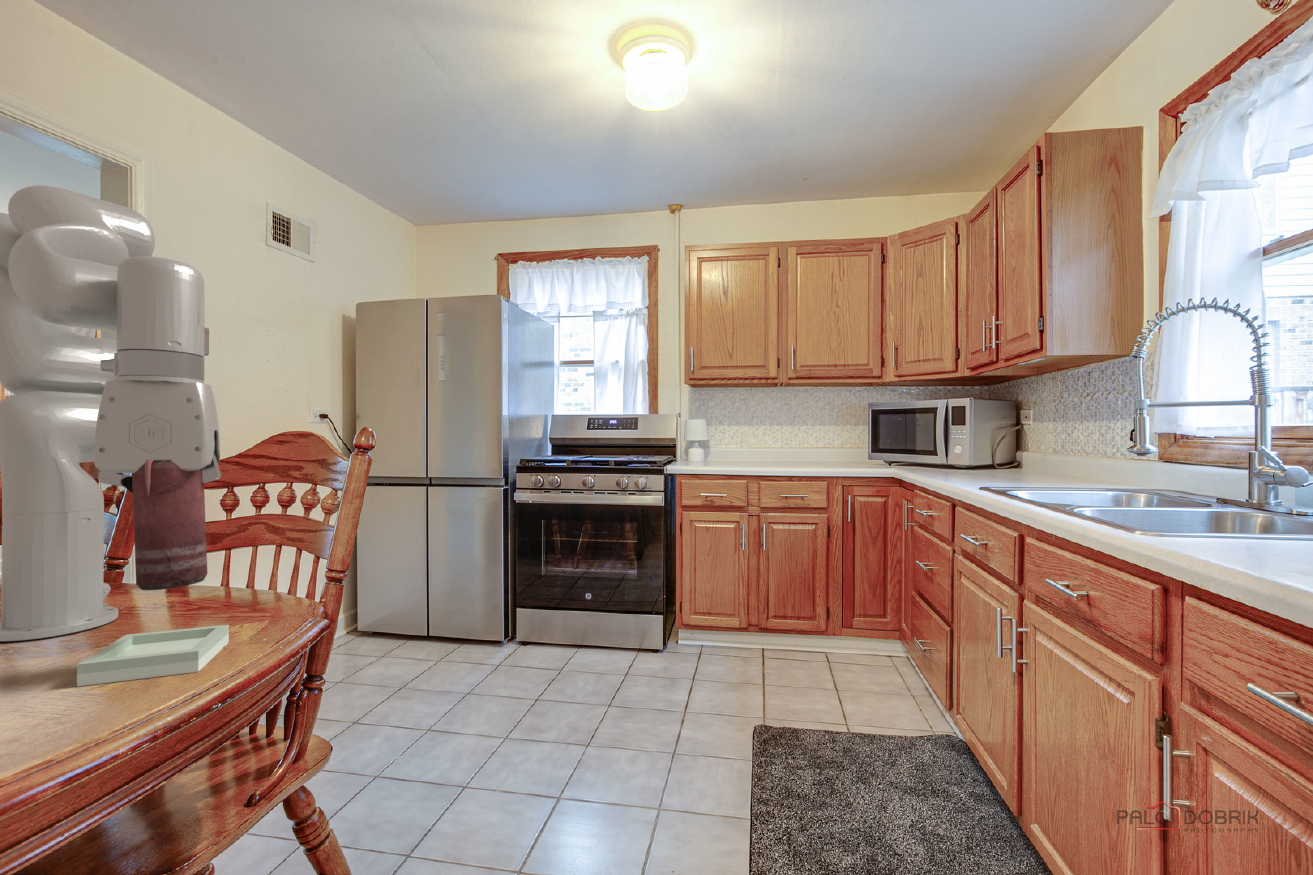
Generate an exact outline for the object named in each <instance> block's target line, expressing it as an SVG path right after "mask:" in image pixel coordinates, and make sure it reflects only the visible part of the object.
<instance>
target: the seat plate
mask: <svg viewBox="0 0 1313 875" xmlns="http://www.w3.org/2000/svg"><path fill="white" fill-rule="evenodd" d="M229 640H230V624H222V625H221V624H220V625H211V626H202V627H201V626H200V627H189V628H181V629H171V630H162V631H160V630H159V631H152V632H151V631H149V632H141V633H140V632H139V633H130V634H125V635H123V636H121V637H119V638H118V639H117V640H115V641H113V642H112V643H109V645H107V646H104V647H103V648H102V649H100V650H99V651H97V652H95V653H94V654H92V655H90V656H88V657H87V658H86V659H84V660H81V662H79V663H77V664H76V687H84V686H92V685H93V686H94V685H101V684H109V683H118V682H124V681H125V682H126V681H134V680H140V679H149V678H156V677H157V678H159V677H166V676H175V675H182V674H191V673H199V672H200V671H202V669H203V668H204V667H205V666H206V665H207V664H208V663H209V662H210V661H211V660H212V659H213V658H215V656H216V655H218V654H219V653H220V652H221V651H222V650H223V649H224V648H225V647H226V646H227V645H229V643H228V642H230V641H229ZM224 646H225V647H224ZM223 647H224V648H223Z"/></svg>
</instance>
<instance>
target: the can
mask: <svg viewBox="0 0 1313 875" xmlns="http://www.w3.org/2000/svg"><path fill="white" fill-rule="evenodd" d="M201 471H202V469H199V470H195V471H184V470H183V469H180V467H179V466H178V465H176V464H175V463H174V462H172V460H152V459H149V460H146V461H145V464H143V465H142V466H141V467H140V468H139V469H138V470H137V471H136V472H135V473H131V476H132V487H133V493H132V508H133V509H132V510H133V511H132V512H133V533H134V535H133V537H134V539H133V540H134V559H135V560H134V562H135V564H134V566H135V585H136V586H137V587H138V588H139V589H140V590H142V591H159V590H160V591H161V590H169V589H175V588H176V589H177V588H181V587H186V586H191V585H195V584H199V583H202V582H203V581H205V579H206V577H207V576H208V554H207V553H208V552H207V549H208V548H207V526H206V501H205V500H206V498H205V483H201Z"/></svg>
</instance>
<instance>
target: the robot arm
mask: <svg viewBox="0 0 1313 875" xmlns="http://www.w3.org/2000/svg"><path fill="white" fill-rule="evenodd" d="M7 212H8V213H5V212H0V384H1V386H2V387H3V388H4V389H5V390H7V391H8V392H10V393H12V394H11V395H8V396H7V397H4V399H2V400H0V475H1V476H0V478H1V499H2V500H1V522H2V523H1V589H0V590H1V595H0V596H1V597H0V598H1V599H0V601H1V603H0V604H1V605H0V607H1V608H0V609H1V610H0V642H18V641H20V642H21V641H29V640H39V639H45V638H51V637H58V636H63V635H68V634H73V633H78V632H83V631H86V630H90V629H94V628H97V627H100V626H103V625H106V624H109V623H111V622H114V621H115V620H116V619H118V617H119V609H118V608H117V607H116V606H115V607H114V606H110V605H109V606H108V605H104V597H105V596H107V595H108V594H109V593H110V592H111V586H110V584H109V583H107V582H104V565H105V564H104V563H105V560H104V557H105V556H104V555H105V554H104V552H105V550H104V549H105V548H104V547H105V544H104V541H105V539H104V538H105V537H104V535H105V534H104V532H105V530H104V529H105V497H104V493H103V491H102V488H101V487H100V485H99V484H98V483H97V481H96V480H95V479H94V478H93V477H91V476H90V474H89V473H87V471H85V469H84V468H82V467H81V465H80V464H81V463H92V462H93V464H94V466H95V468H96V469H97V470H99V474H98V476H97V480H98V482H99V483H100V484H104V485H112V486H118V487H124V488H125V489H126V490H128V491H129V492H130V493H132V494H133V487H132V473H135V472H136V471H137V470H138V469H139V468H140V467H141V466H142V465H143V464H145V461H146V460H149V459H152V460H172V462H174V463H175V464H176V465H178V466H179V467H180V469H183V470H184V471H195V470H199V469H202V471H201V483H204V484H206V483H209V482H212V481H214V482H215V481H217V480H220V479H221V477H222V474H221V470H220V466H219V464H220V460H221V438H220V427H219V420H218V419H219V418H218V413H217V412H218V411H217V407H216V402H215V401H216V400H215V397H214V393H213V392H214V391H213V389H212V386H211V385H210V384H206V383H205V280H204V277H203V274H202V273H201V272H200V271H199V269H197V268H196V267H194V266H192V265H190V264H187V263H184V262H181V261H179V260H174V259H170V258H165V257H160V256H153V254H154V250H155V246H156V243H155V242H156V238H155V233H154V229H153V227H152V225H151V223H150V222H149V221H148V219H147V218H146V217H145V216H144V215H143V214H141V213H140V212H139V211H137V210H135V209H133V208H130V207H128V206H124V205H121V204H118V203H114V202H111V201H108V200H104V199H102V198H101V199H100V198H96V197H94V196H90V195H86V194H83V193H80V192H75V191H72V190H68V189H66V188H61V187H58V186H57V187H56V186H49V185H41V184H40V185H31V186H26V187H23V188H20V189H19V190H17V191H15V193H13V194H12V196H11V197H10V198H9V201H8V206H7ZM70 327H72V328H73V327H74V328H81V329H90V330H97V331H98V330H99V331H105V332H114V333H116V339H110V338H103V337H93V336H86V335H82V334H77V333H75V332H73V331H72V330H71V329H70ZM130 474H131V475H130Z"/></svg>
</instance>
